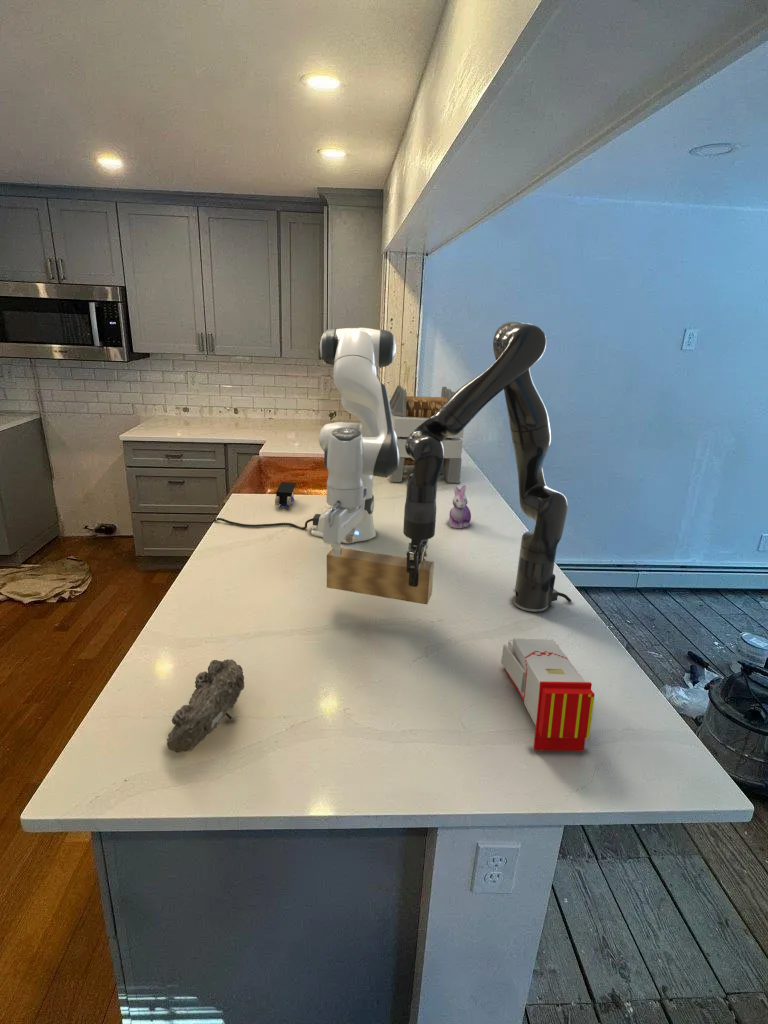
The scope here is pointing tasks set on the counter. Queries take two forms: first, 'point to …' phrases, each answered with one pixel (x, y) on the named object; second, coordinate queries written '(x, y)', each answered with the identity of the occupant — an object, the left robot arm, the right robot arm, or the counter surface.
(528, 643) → the toy
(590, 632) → the counter surface
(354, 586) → the bar
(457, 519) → the figurine
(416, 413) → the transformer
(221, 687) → the fossil
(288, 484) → the figurine character
